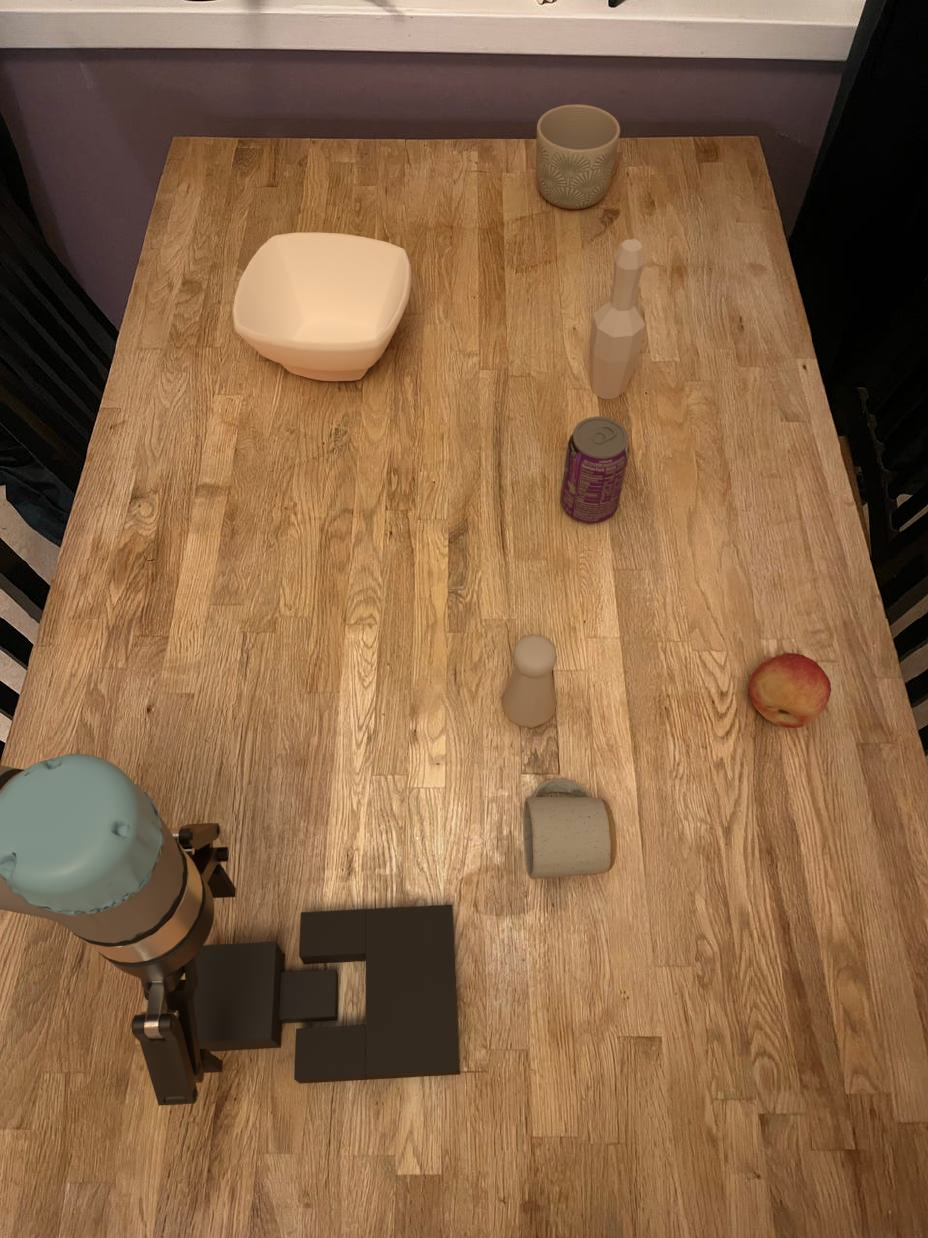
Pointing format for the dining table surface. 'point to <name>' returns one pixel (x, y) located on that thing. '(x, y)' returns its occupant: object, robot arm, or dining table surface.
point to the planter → (575, 155)
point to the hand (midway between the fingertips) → (212, 976)
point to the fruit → (790, 690)
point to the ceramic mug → (567, 832)
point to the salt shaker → (531, 682)
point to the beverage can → (594, 469)
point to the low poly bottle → (618, 326)
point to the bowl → (322, 302)
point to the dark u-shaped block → (385, 995)
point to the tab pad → (256, 996)
